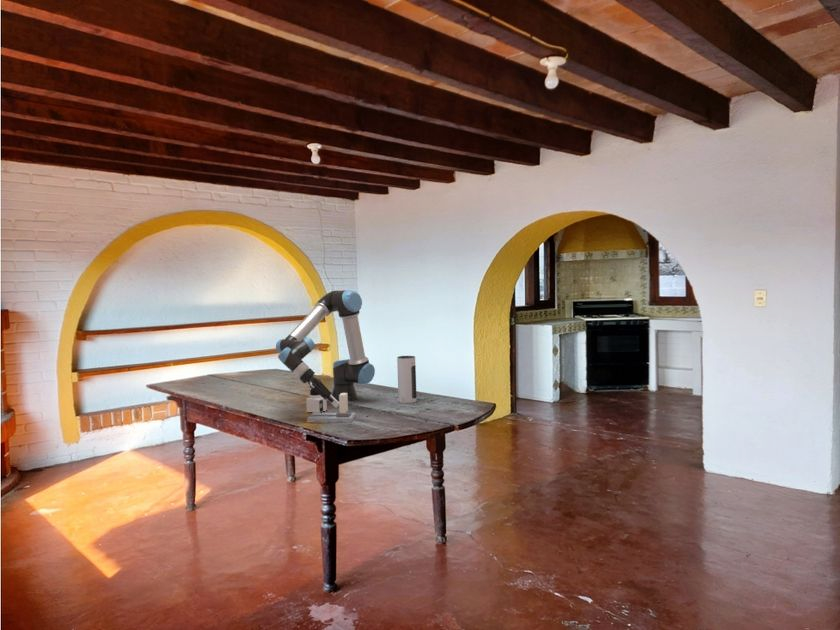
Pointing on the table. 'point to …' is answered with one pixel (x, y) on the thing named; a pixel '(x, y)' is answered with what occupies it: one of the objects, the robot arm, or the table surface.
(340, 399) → the fader
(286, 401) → the table surface
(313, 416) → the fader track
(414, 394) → the speaker
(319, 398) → the container
